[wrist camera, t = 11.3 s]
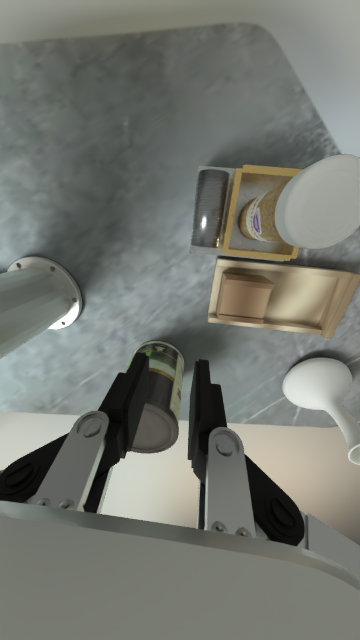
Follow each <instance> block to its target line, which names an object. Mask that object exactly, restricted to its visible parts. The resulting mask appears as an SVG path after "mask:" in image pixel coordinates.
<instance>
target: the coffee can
mask: <svg viewBox="0 0 360 640" xmlns="http://www.w3.org/2000/svg"><path fill="white" fill-rule="evenodd" d="M136 352H142V353H146V355H147V356H149V390H148V395H147V399H146V402H145V405H144V409H143V412H142V415H141V419H140V422H139V425H138V429H137V432H136V435H135V439H134V442H133V445H132V449H131V451H133V452H137V453H158V452H162V451H165V450H167V449H168V448H170V447H171V446H172V445H173V444H174V443H175V442H176V440H177V438H178V432H179V427H178V420H179V410H180V400H181V390H182V380H183V370H184V359H183V356H182V354H181V353H180V351H179V350H177V349H176V348H175V347H174V346H172V345H171V344H169V343H166V342H162V341H150V342H146V343H144V344H142V345H141V346H139V347H138V348H137V350H136V351H135V353H134V356H135V354H136ZM134 356H133V358H134ZM133 358H132V360H133ZM132 360H131V362H132ZM131 362H130V364H131ZM130 364H129V366H130ZM129 366H128V368H129ZM128 368H127V370H128ZM127 370H126V372H127ZM126 372H125V373H126Z"/></svg>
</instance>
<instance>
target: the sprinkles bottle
mask: <svg viewBox="0 0 360 640" xmlns="http://www.w3.org/2000/svg"><path fill="white" fill-rule="evenodd" d="M239 226H240V230H241V232H242V233H243V234H244V236H246V237H247V238H249V239H252V240H261V241H268V242H277V243H288V244H290V245H292V246H295V247H300V248H307V249H322V248H327V247H330V246H333V245H335V244H337V243H339V242H341V241H343V240H344V239H346V238H347V237H348V236H350V235H351V234H352V233H353V232H354V231H355V230H356V229H357V228H358V227H359V226H360V158H359V157H356V156H353V155H347V154H339V155H333V156H329V157H327V158H324V159H322V160H320V161H318V162H316V163H314V164H312V165H310V166H308V167H307V168H305V169H303V170H302V171H300V172H299V173H297V174H296V175H295V176H294V177H293V178H292V179H291V180H289V181H287V182H285V183H283V184H281V185H279V186H277V187H276V188H274V189H272V190H269V191H267V192H265V193H264V194H262V195H260V196H259V197H256V198H254V199H252V200H251V201H249V202H248V203H247V204H246V205H245V206H244V208H243V209H242V211H241V214H240V219H239Z"/></svg>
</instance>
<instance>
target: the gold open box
mask: <svg viewBox="0 0 360 640" xmlns="http://www.w3.org/2000/svg"><path fill="white" fill-rule="evenodd" d="M302 170H303V169H293V168H281V167H269V166H256V165H243V166H242V167H241V168H236V169H235V168H223V167H210V166H199V167H198V177H197V187H196V196H195V206H194V216H193V226H192V236H191V245H190V252H191V253H201V254H212V255H222V256H232V257H242V258H252V259H262V260H272V261H283V262H284V261H290V259H291V258H293V259H296V258H297V255H298V252H299V249H300V247H295V246H292V245H290V244H288V243H277V242H268V241H261V240H252V239H249V238H247V237H246V236H244V234H243V233H242V232H241V230H240V226H239V219H240V214H241V211H242V209H243V208H244V206H245V205H246V204H247V203H248V202H249V201H251V200H252V199H254V198H256V197H259V196H260V195H262V194H264V193H265V192H267V191H269V190H272V189H274V188H276V187H277V186H279V185H281V184H283V183H285V182H287V181H289V180H291V179H292V178H293V177H294V176H295V175H296V174H297V173H299V172H300V171H302Z"/></svg>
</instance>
